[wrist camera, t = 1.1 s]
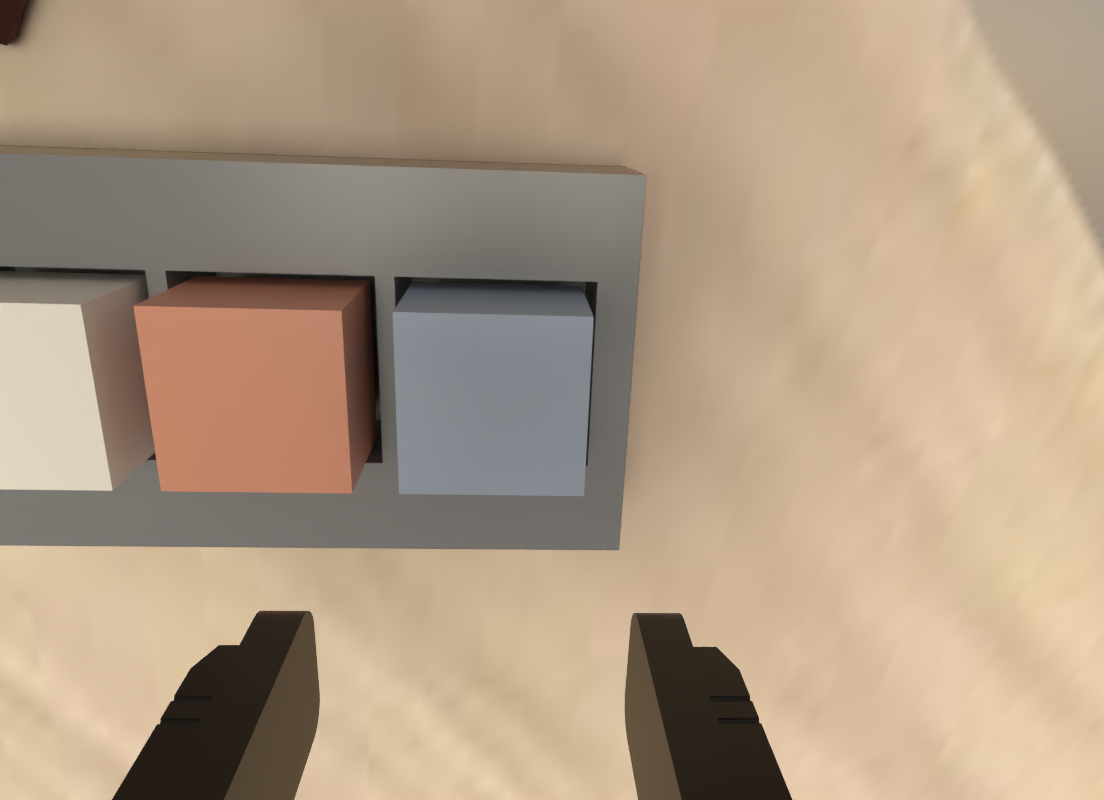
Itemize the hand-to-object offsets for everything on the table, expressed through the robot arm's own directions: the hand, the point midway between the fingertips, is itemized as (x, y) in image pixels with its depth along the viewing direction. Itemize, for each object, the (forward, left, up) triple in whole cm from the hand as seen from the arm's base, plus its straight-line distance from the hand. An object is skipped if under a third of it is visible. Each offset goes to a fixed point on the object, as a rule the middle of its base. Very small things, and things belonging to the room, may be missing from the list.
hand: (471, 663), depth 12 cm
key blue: (0, 0, -16) cm, 16 cm away
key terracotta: (-7, 0, -16) cm, 17 cm away
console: (-7, 0, -19) cm, 21 cm away
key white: (-14, 0, -16) cm, 21 cm away
